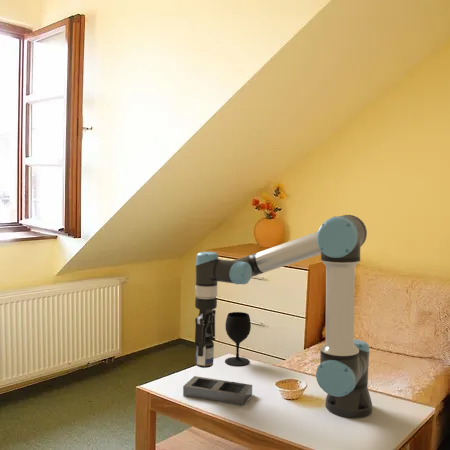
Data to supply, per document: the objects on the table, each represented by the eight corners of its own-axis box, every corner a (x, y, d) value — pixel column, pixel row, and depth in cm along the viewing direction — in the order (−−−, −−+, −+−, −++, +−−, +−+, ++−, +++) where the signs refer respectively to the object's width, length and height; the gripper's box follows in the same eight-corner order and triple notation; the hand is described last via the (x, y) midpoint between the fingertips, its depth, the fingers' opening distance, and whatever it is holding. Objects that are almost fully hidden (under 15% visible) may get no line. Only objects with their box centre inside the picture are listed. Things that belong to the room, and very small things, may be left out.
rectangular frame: (252, 394, 184) (252, 384, 184) (243, 405, 174) (243, 395, 174) (194, 385, 191) (194, 376, 191) (183, 395, 182) (183, 386, 181)
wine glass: (235, 368, 209) (237, 319, 208) (219, 361, 217) (220, 313, 216) (255, 363, 216) (256, 315, 214) (238, 356, 224) (239, 310, 222)
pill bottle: (194, 362, 186) (194, 332, 185) (210, 361, 187) (211, 331, 187) (198, 369, 180) (199, 337, 179) (215, 367, 182) (216, 336, 181)
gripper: (206, 290, 192) (204, 351, 194) (185, 301, 174) (183, 369, 176) (225, 292, 189) (223, 354, 191) (206, 303, 171) (204, 372, 173)
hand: (204, 361), depth 184 cm, fingers closed on pill bottle, 6 cm apart
